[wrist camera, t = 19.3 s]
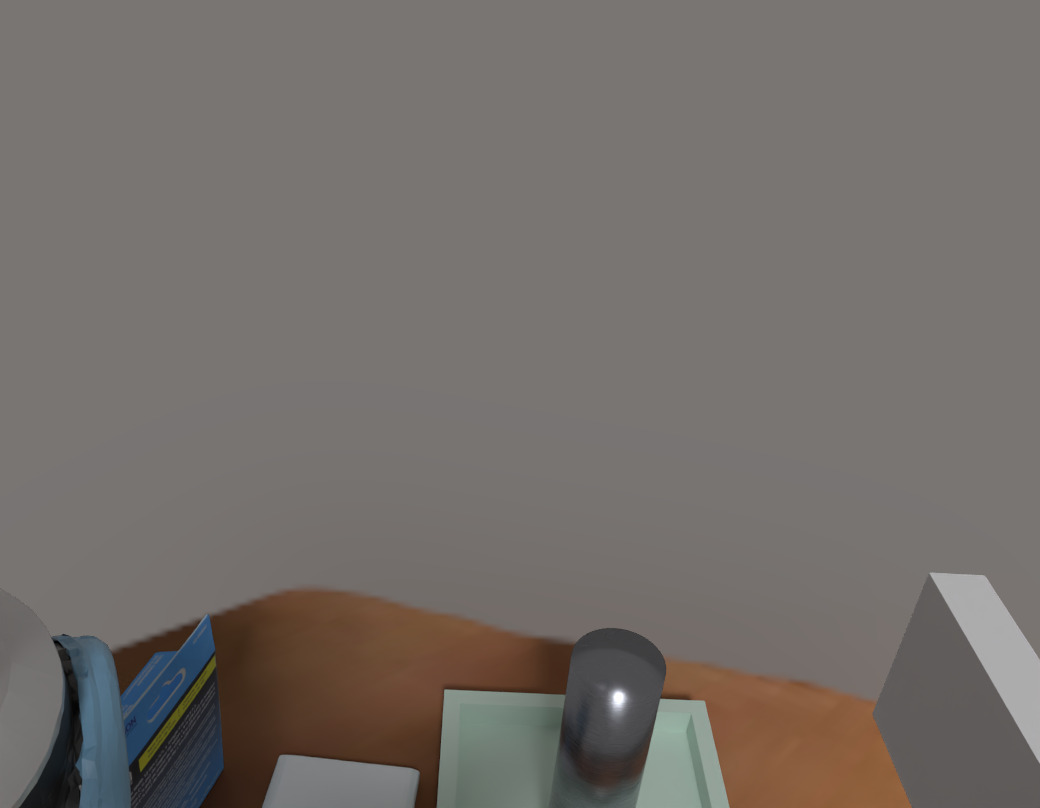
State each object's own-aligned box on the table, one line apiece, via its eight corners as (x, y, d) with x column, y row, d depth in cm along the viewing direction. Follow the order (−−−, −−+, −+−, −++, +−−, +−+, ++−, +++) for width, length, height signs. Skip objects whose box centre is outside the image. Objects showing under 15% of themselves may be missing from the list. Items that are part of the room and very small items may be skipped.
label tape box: (168, 751, 55) (141, 592, 49) (232, 769, 54) (213, 611, 48) (70, 890, 47) (24, 724, 41) (142, 913, 47) (107, 748, 40)
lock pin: (544, 886, 49) (574, 697, 42) (541, 810, 53) (568, 625, 45) (628, 889, 49) (672, 701, 42) (620, 813, 53) (659, 630, 46)
